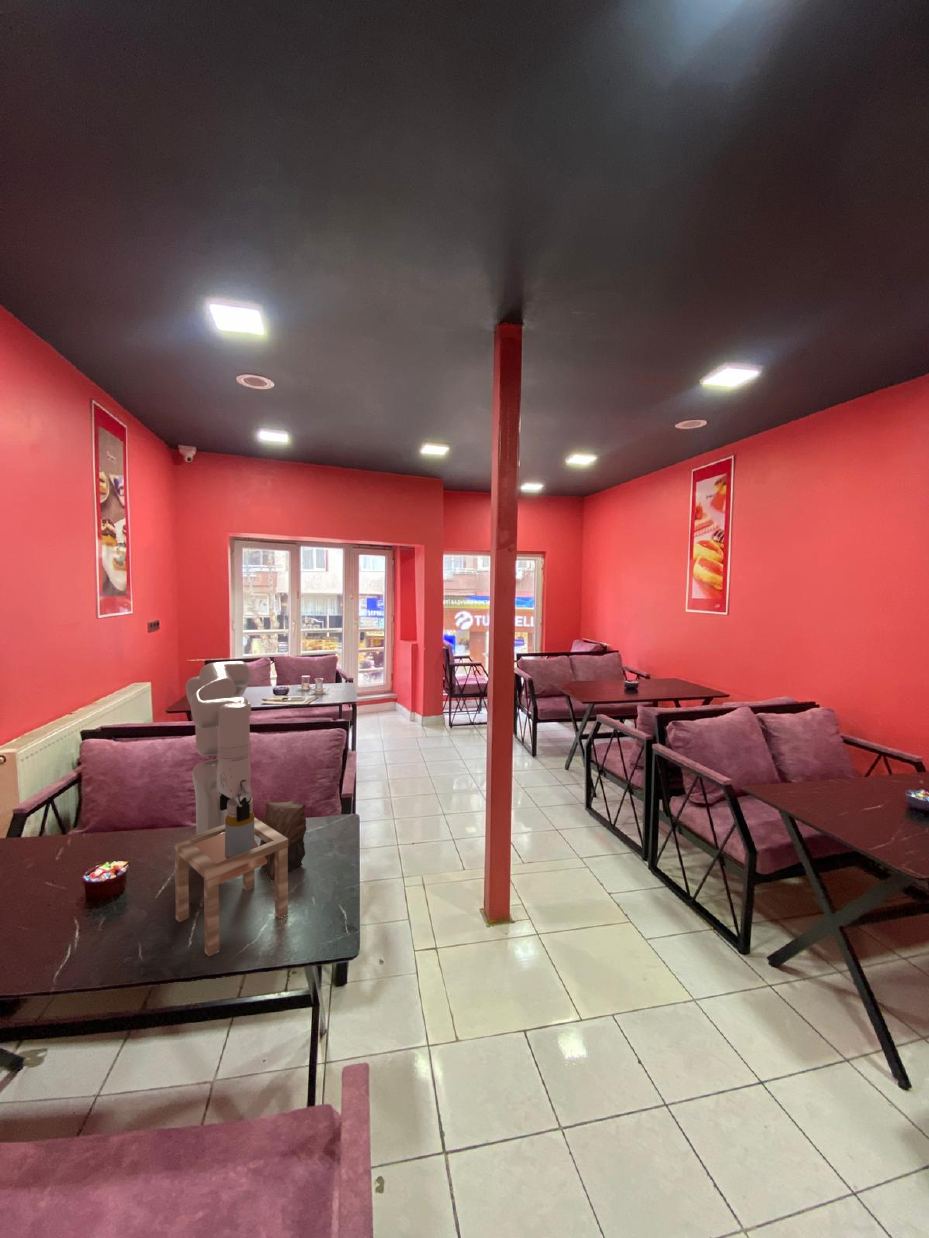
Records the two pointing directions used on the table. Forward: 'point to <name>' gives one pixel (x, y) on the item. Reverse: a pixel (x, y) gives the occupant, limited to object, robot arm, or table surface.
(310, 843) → the table surface
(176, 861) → the trapdoor frame
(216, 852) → the trapdoor
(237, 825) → the bottle
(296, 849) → the tree stump
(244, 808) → the robot arm
